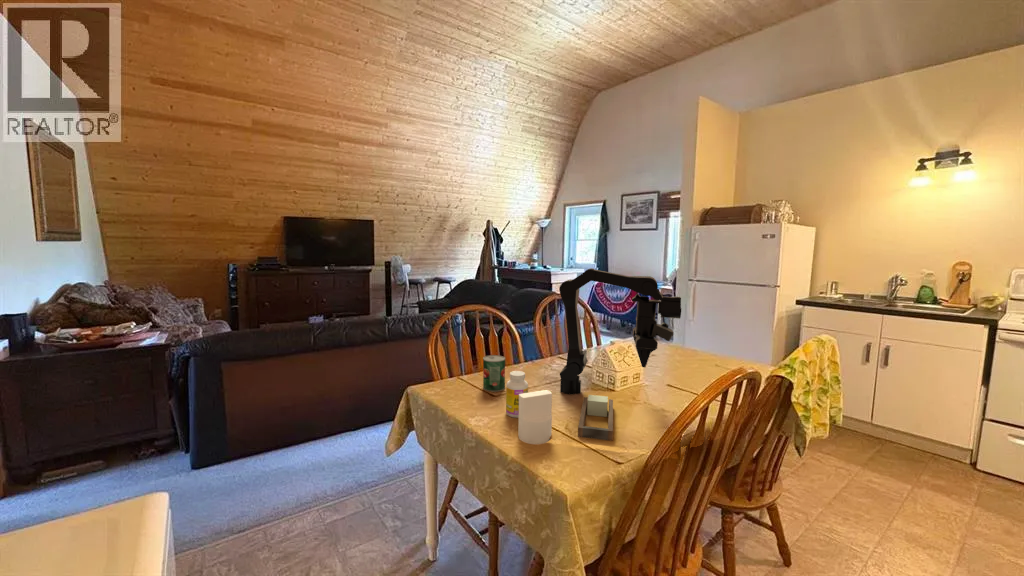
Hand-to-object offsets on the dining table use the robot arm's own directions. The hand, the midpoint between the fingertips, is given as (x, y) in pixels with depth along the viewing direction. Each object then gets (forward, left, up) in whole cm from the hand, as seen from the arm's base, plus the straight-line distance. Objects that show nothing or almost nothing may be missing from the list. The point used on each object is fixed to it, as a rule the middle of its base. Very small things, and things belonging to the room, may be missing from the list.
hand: (642, 362), depth 136 cm
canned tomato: (-51, +1, -14) cm, 52 cm away
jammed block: (-14, -14, -13) cm, 23 cm away
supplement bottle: (-38, -19, -14) cm, 44 cm away
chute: (-14, -20, -13) cm, 28 cm away
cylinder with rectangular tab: (-30, -32, -14) cm, 46 cm away
